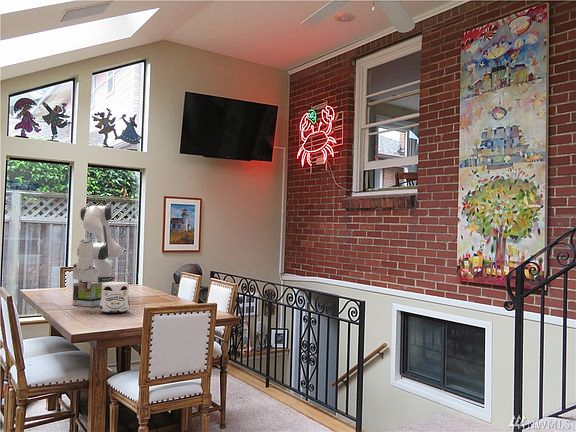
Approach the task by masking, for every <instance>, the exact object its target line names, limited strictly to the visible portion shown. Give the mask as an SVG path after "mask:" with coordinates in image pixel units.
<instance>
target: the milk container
mask: <svg viewBox="0 0 576 432" xmlns="http://www.w3.org/2000/svg"><path fill="white" fill-rule="evenodd" d="M129 308H130V299H129V282H127V281H114V282H105V283H103V284H102V297H101V301H100V305H99V310H100V312H102V313H104V314H112V315H113V314H121V313H125V312H127V311H128V310H130V309H129Z"/></svg>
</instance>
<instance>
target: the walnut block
mask: <svg viewBox="0 0 576 432" xmlns="http://www.w3.org/2000/svg"><path fill="white" fill-rule="evenodd" d="M87 285H88V283H87V281H82V282H79V292H83V293H84V292H91V285H90V288H89V289H87V288H86V286H87Z"/></svg>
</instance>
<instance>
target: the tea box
mask: <svg viewBox="0 0 576 432" xmlns="http://www.w3.org/2000/svg"><path fill="white" fill-rule="evenodd" d="M72 285H73V286H72V287H73V289H72V290H73V291H72V306H80V307H91V308H92V307H97V306H100V301H101V286H102V283H95V282H92V283H91V292H84V293H83V292H79V282H73V284H72Z"/></svg>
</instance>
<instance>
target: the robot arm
mask: <svg viewBox="0 0 576 432" xmlns="http://www.w3.org/2000/svg"><path fill="white" fill-rule="evenodd" d="M79 217H80V220H81V221H82V222H83V223H82V224H83V228H84V229H85V230H86V231H87V232H89V233H90V234H93V237H94V238H95V239H96V240H98V241H100V242H93V240H92V239H82V240H80V241H79V244H78V247H77V257H78V260H77V262H76V263H74V264H72V279H73V280H76V281H78V282H84V281H87V283H88V285H87V286H86V288H87V289H89V288H90V285H91V283H92V282H94V283H102V284H103V283H105V282H115V281H114V280H116V279H117V277H116V276H113V275H112V265H111V264H110V263H109V262H107V260H106V259H110V258H111V259H113V258H119V257H120V256H121V255H122V253H123V252H122V251H123V248H122V246H121V245H120V243H119V242H116V241H115V239H114V238H113V236H112V233H111V230H110V228H111V227H110V222H109V221H111V220H112V219H113V218H114V209H113V207H112V206H110V205H90V206H84V207H81V209H80V212H79ZM78 282H77V283H78ZM101 297H102V286H101Z"/></svg>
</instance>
